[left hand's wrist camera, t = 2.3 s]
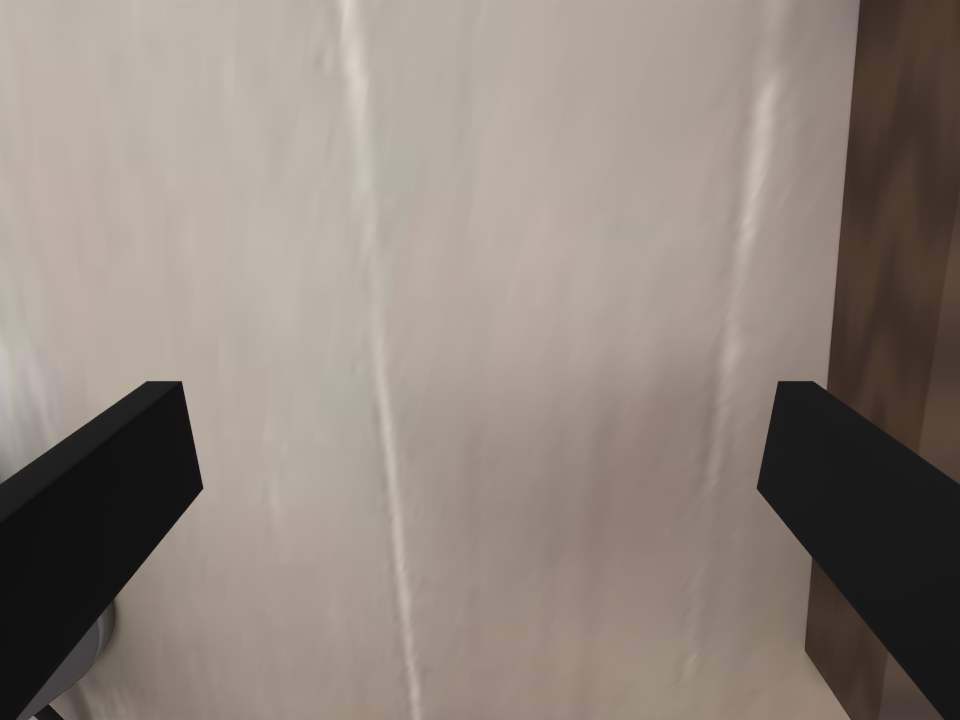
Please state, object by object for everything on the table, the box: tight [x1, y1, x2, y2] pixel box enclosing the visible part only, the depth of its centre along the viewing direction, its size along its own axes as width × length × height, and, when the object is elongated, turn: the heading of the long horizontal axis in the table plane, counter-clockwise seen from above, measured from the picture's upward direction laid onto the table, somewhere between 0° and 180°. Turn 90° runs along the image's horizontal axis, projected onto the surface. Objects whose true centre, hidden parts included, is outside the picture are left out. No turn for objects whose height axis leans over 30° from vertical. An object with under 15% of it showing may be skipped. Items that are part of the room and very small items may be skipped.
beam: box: [805, 0, 960, 720], centre depth 29 cm, size 53×5×8 cm, turn 8°
